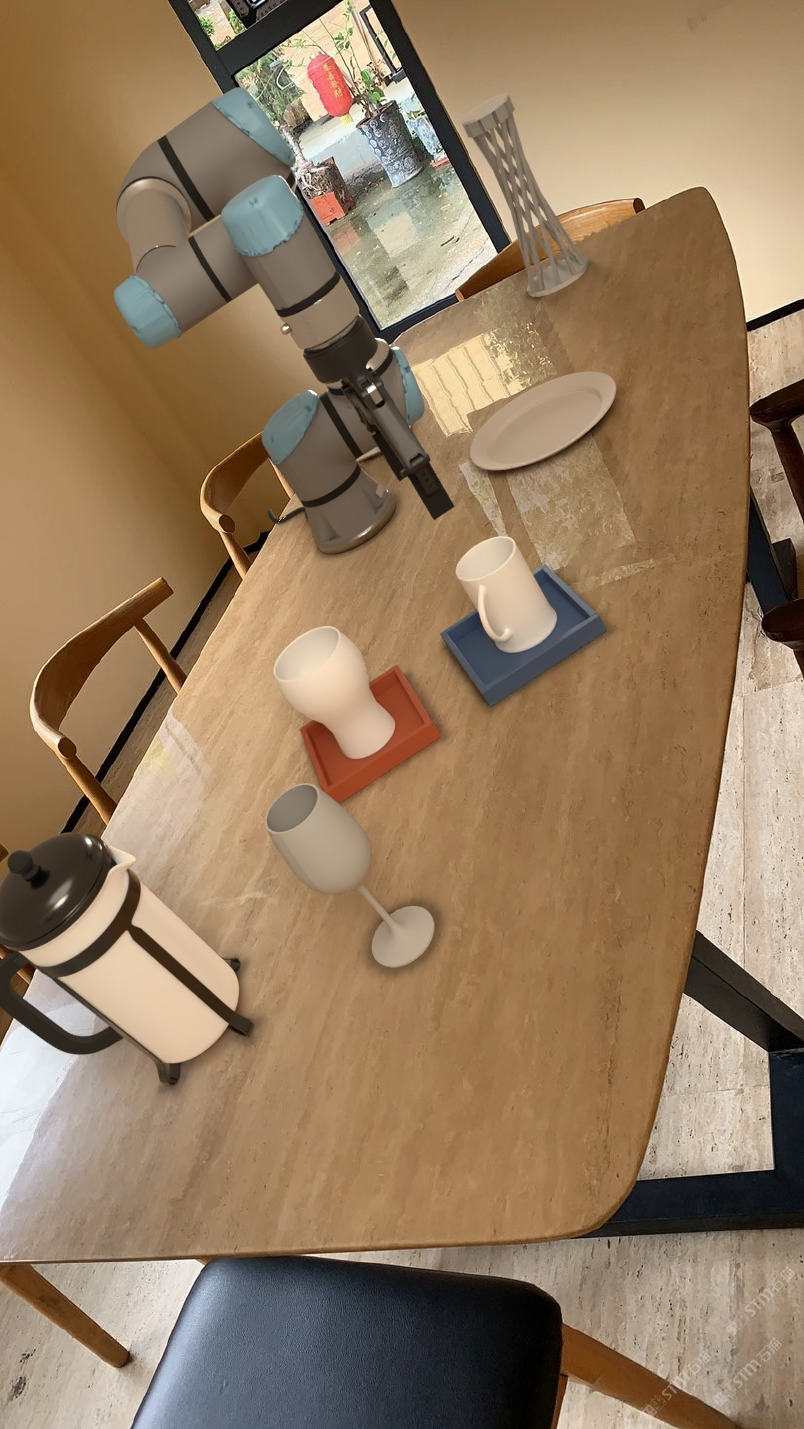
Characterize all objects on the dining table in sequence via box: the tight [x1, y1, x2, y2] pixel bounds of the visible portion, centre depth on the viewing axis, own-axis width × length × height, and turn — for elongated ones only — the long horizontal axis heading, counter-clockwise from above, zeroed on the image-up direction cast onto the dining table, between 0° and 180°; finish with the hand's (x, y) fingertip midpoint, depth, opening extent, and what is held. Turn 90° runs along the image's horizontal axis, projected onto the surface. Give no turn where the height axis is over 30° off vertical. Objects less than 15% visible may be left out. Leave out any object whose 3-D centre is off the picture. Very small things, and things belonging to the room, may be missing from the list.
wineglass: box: [264, 782, 436, 969], centre depth 100 cm, size 8×8×21 cm
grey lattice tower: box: [461, 92, 591, 298], centre depth 204 cm, size 14×13×35 cm
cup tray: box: [299, 664, 442, 805], centre depth 132 cm, size 16×16×2 cm
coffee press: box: [0, 831, 255, 1086], centre depth 103 cm, size 17×16×30 cm
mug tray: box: [439, 563, 607, 708], centre depth 131 cm, size 17×17×2 cm
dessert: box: [356, 425, 412, 463], centre depth 198 cm, size 12×12×5 cm
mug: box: [455, 535, 557, 653], centre depth 128 cm, size 12×8×12 cm
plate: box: [469, 371, 617, 471], centre depth 169 cm, size 26×26×2 cm
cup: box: [272, 625, 395, 759], centre depth 128 cm, size 11×11×15 cm
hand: (425, 492), depth 121 cm, fingers open, 13 cm apart
